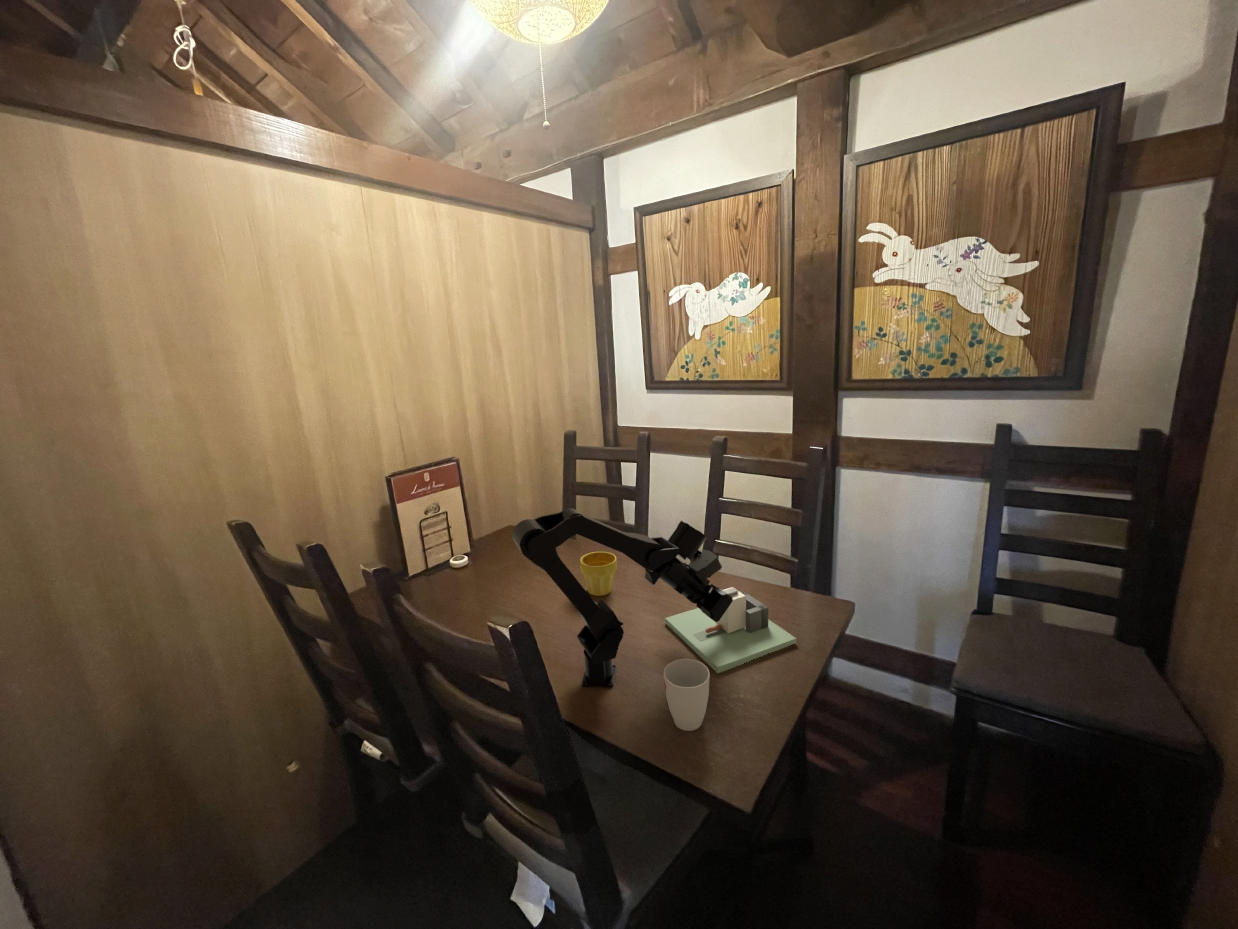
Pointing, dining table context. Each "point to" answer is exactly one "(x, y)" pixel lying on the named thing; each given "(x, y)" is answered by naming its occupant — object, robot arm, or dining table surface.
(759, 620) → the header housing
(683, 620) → the board
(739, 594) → the plug
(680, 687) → the cup
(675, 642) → the dining table surface
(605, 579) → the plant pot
